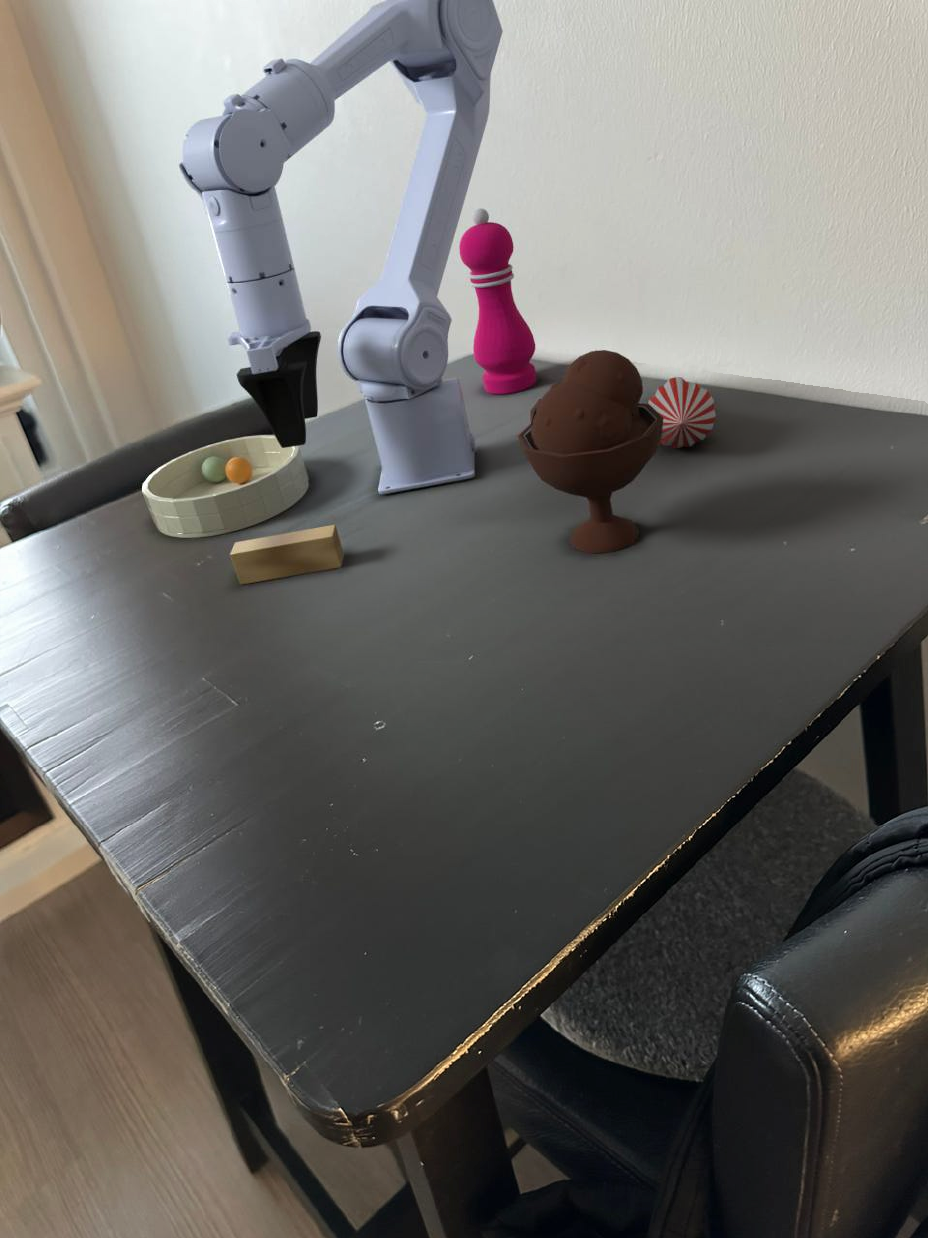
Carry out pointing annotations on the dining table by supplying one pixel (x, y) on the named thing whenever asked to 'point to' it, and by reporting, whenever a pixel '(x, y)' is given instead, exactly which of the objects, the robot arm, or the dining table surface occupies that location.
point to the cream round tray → (225, 488)
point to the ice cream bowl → (594, 442)
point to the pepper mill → (497, 309)
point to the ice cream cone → (683, 412)
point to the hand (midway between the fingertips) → (300, 430)
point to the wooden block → (287, 554)
